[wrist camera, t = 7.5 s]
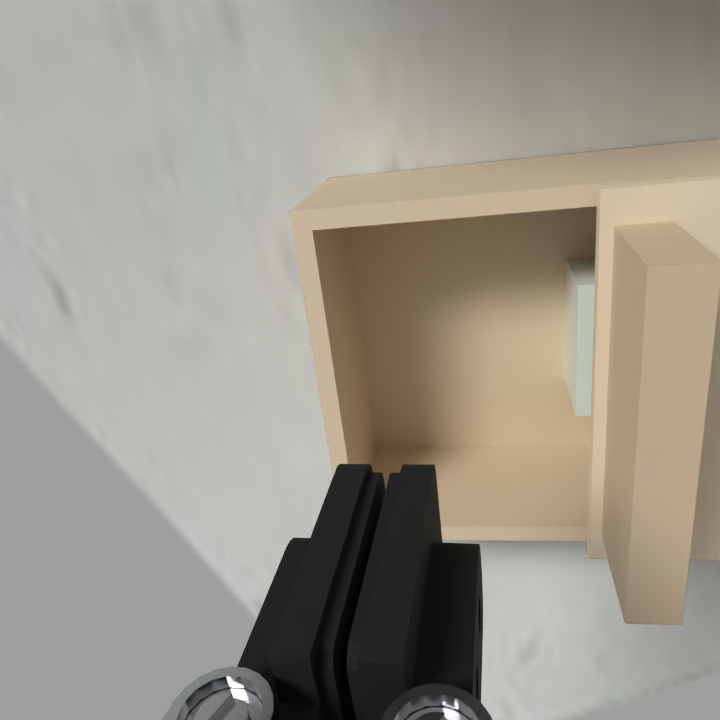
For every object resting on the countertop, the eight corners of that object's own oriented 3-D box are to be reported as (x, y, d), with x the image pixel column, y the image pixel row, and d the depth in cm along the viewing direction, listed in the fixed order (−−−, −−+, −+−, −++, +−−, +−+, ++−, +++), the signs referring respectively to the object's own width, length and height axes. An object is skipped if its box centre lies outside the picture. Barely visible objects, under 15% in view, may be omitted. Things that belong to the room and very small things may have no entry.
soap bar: (788, 244, 18) (830, 269, 16) (768, 371, 20) (804, 410, 18) (566, 259, 19) (577, 285, 17) (565, 379, 21) (575, 416, 19)
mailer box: (840, 126, 17) (959, 150, 13) (785, 446, 21) (861, 544, 17) (328, 178, 20) (288, 211, 16) (366, 454, 24) (343, 538, 20)
